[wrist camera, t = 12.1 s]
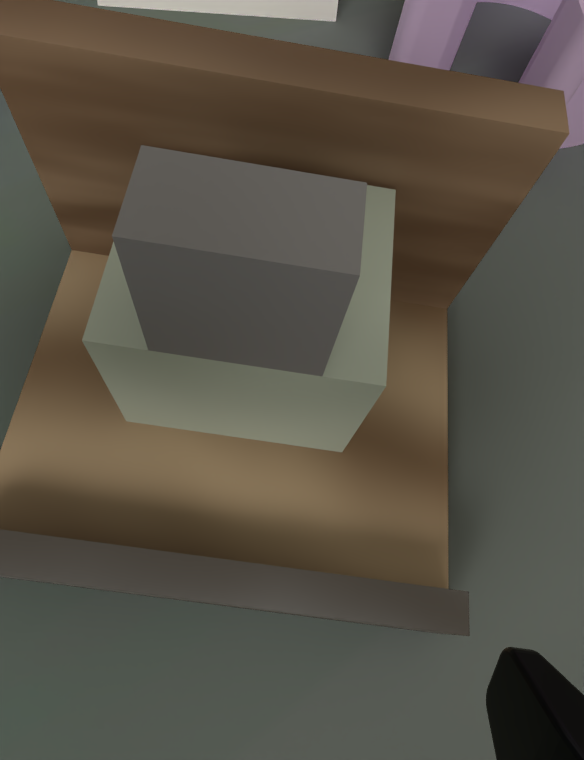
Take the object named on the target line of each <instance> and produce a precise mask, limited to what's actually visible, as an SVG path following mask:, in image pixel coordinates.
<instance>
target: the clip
mask: <svg viewBox="0 0 584 760" xmlns="http://www.w3.org/2000/svg"><path fill="white" fill-rule="evenodd" d="M477 2H494V3H503V4H508V5H513V6H517V7H521V8H524V9H527V10H530V11H533V12H536V13H538V14H540V15H542V16H545V17H547V18H549V19H550V20H552V21H551V22H550V24H549V26H548V28H547V30H546V32H545V34H544V35H543V37H542V39H541V41H540V43H539V45H538V47H537V49H536V50H535V52H534V54H533V56H532V58H531V60H530V62H529V63H528V65H527V67H526V69H525V71H524V73H523V75H522V77H521V78H520V80H519V82H518V83H522V84H528V85H534V86H539V87H545V88H551V89H556V90H562V91H564V97H565V104H566V111H567V118H568V126H569V133H570V134H569V135H568V137H567V138H566V139H565V141H564V142H563V144H562V145H561V147H560V148H567V147H573V146H577V145H581V144H584V0H405V2H404V5H403V9H402V13H401V16H400V20H399V23H398V27H397V30H396V34H395V38H394V41H393V45H392V48H391V52H390V55H389V59H388V60H392V61H398V62H404V63H409V64H415V65H421V66H426V67H432V68H438V69H443V70H449V71H450V68H451V66H452V63H453V61H454V58H455V56H456V53H457V51H458V48H459V46H460V43H461V41H462V38H463V36H464V33H465V31H466V28H467V26H468V23H469V21H470V18H471V16H472V13H473V11H474V8H475V6H476V3H477Z"/></svg>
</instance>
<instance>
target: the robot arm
mask: <svg viewBox="0 0 584 760" xmlns="http://www.w3.org/2000/svg"><path fill="white" fill-rule="evenodd" d="M486 707H487V713H488V718H489V723H490V728H491V733H492V738H493V743H494V749H495V754H496V759H497V760H584V695H583V694H582V693H581V692H580V691H579V690H578V689H577V688H576V687H575V686H574V685H572V684H571V683H570V682H569V681H568V680H567V679H566V678H565V677H564V676H563V675H562V674H561V673H560V672H559V671H558V670H557V669H556V668H554V667H553V666H552V665H551V664H550V663H549V662H548V661H547V660H546V659H545V658H544V657H543V656H542V655H540V654H539V653H538V652H536V651H534V650H530V649H522V648H514V647H508V648H505V649H504V650H503V651H502V653H501V655H500V657H499V660H498V662H497V665H496V667H495V670H494V673H493V675H492V678H491V680H490V683H489V686H488V689H487V694H486Z"/></svg>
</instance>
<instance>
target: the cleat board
mask: <svg viewBox="0 0 584 760" xmlns="http://www.w3.org/2000/svg"><path fill="white" fill-rule="evenodd" d="M0 88H1V91H2V93H3V95H4V97H5V100H6V102H7V104H8V107H9V109H10V111H11V113H12V116H13V118H14V120H15V122H16V125H17V127H18V129H19V131H20V134H21V136H22V138H23V141H24V143H25V145H26V147H27V150H28V152H29V154H30V156H31V159H32V161H33V163H34V165H35V168H36V170H37V172H38V174H39V177H40V179H41V181H42V184H43V186H44V188H45V190H46V193H47V195H48V197H49V199H50V202H51V204H52V206H53V208H54V211H55V213H56V215H57V218H58V220H59V222H60V224H61V227H62V229H63V231H64V233H65V236H66V238H67V240H68V242H69V245H70V247H71V249H72V251H71V254H70V257H69V259H68V262H67V265H66V268H65V271H64V273H63V276H62V279H61V282H60V285H59V288H58V290H57V293H56V296H55V299H54V302H53V304H52V307H51V310H50V313H49V316H48V318H47V321H46V324H45V327H44V330H43V332H42V335H41V338H40V341H39V344H38V346H37V349H36V352H35V355H34V358H33V360H32V363H31V366H30V369H29V372H28V375H27V377H26V380H25V383H24V386H23V389H22V391H21V394H20V397H19V400H18V403H17V405H16V408H15V411H14V414H13V417H12V419H11V422H10V425H9V428H8V431H7V433H6V436H5V439H4V442H3V445H2V447H1V450H0V577H5V578H13V579H21V580H29V581H36V582H44V583H52V584H60V585H67V586H75V587H83V588H91V589H98V590H106V591H114V592H122V593H129V594H137V595H145V596H152V597H160V598H168V599H176V600H183V601H191V602H199V603H207V604H214V605H222V606H230V607H238V608H245V609H253V610H261V611H269V612H276V613H284V614H292V615H300V616H307V617H315V618H323V619H331V620H338V621H346V622H354V623H362V624H369V625H377V626H385V627H392V628H400V629H408V630H416V631H423V632H431V633H440V634H452V635H463V636H470V632H469V592H468V591H460V590H453V589H448V376H447V308H448V307H449V306H450V304H451V303H452V301H453V300H454V298H455V297H456V296H457V294H458V293H459V291H460V290H461V288H462V287H463V286H464V284H465V283H466V281H467V280H468V278H469V277H470V276H471V274H472V273H473V271H474V270H475V268H476V267H477V265H478V264H479V263H480V261H481V260H482V258H483V257H484V255H485V254H486V253H487V251H488V250H489V248H490V247H491V245H492V244H493V243H494V241H495V240H496V238H497V237H498V235H499V234H500V233H501V231H502V230H503V228H504V227H505V225H506V224H507V223H508V221H509V220H510V218H511V217H512V215H513V214H514V212H515V211H516V210H517V208H518V207H519V205H520V204H521V202H522V201H523V200H524V198H525V197H526V195H527V194H528V192H529V191H530V190H531V188H532V187H533V185H534V184H535V182H536V181H537V180H538V178H539V177H540V175H541V174H542V172H543V171H544V170H545V168H546V167H547V165H548V164H549V162H550V161H551V159H552V158H553V157H554V155H555V154H556V152H557V151H558V149H559V148H560V147H561V145H562V144H563V142H564V141H565V139H566V138H567V137H568V135H569V134H570V133H569V126H568V118H567V111H566V104H565V97H564V91H562V90H556V89H551V88H545V87H539V86H534V85H528V84H522V83H517V82H511V81H505V80H500V79H494V78H489V77H483V76H477V75H472V74H466V73H460V72H455V71H449V70H443V69H438V68H432V67H426V66H421V65H415V64H409V63H404V62H398V61H392V60H387V59H381V58H376V57H370V56H364V55H359V54H353V53H347V52H342V51H336V50H330V49H325V48H319V47H313V46H308V45H302V44H296V43H291V42H285V41H280V40H274V39H268V38H263V37H257V36H251V35H246V34H240V33H234V32H229V31H223V30H217V29H212V28H206V27H200V26H195V25H189V24H183V23H178V22H172V21H167V20H161V19H155V18H150V17H144V16H138V15H133V14H127V13H121V12H116V11H110V10H104V9H99V8H93V7H87V6H82V5H76V4H71V3H65V2H59V1H54V0H0ZM141 145H145V146H150V147H156V148H162V149H168V150H174V151H180V152H186V153H192V154H198V155H204V156H210V157H216V158H222V159H228V160H234V161H240V162H246V163H252V164H258V165H264V166H270V167H276V168H282V169H288V170H294V171H300V172H306V173H312V174H318V175H324V176H330V177H336V178H342V179H348V180H354V181H360V182H366V183H367V185H370V186H376V187H382V188H388V189H394V190H396V195H395V216H394V237H393V257H392V278H391V299H390V319H389V340H388V361H387V381H386V387H385V389H384V390H383V392H382V393H381V395H380V396H379V398H378V399H377V401H376V402H375V404H374V405H373V407H372V408H371V410H370V411H369V413H368V414H367V416H366V417H365V419H364V420H363V422H362V423H361V425H360V426H359V428H358V429H357V431H356V432H355V434H354V435H353V437H352V438H351V440H350V441H349V443H348V444H347V446H346V447H345V449H344V450H343V452H336V451H329V450H322V449H315V448H308V447H301V446H294V445H287V444H280V443H273V442H266V441H260V440H253V439H246V438H239V437H232V436H225V435H218V434H211V433H204V432H197V431H190V430H183V429H176V428H169V427H162V426H155V425H148V424H142V423H135V422H128V421H126V420H125V418H124V416H123V414H122V413H121V411H120V409H119V407H118V405H117V403H116V402H115V400H114V398H113V396H112V394H111V393H110V391H109V389H108V387H107V385H106V383H105V382H104V380H103V378H102V376H101V374H100V373H99V371H98V369H97V367H96V365H95V363H94V362H93V360H92V358H91V356H90V354H89V353H88V351H87V349H86V347H85V345H84V343H83V342H82V338H83V335H84V332H85V329H86V326H87V323H88V320H89V316H90V313H91V310H92V307H93V304H94V301H95V298H96V295H97V291H98V288H99V285H100V282H101V279H102V276H103V273H104V270H105V266H106V263H107V260H108V257H109V254H110V251H111V248H112V245H113V238H112V234H113V231H114V228H115V225H116V222H117V219H118V215H119V212H120V209H121V206H122V203H123V200H124V197H125V194H126V191H127V188H128V185H129V181H130V178H131V175H132V172H133V169H134V166H135V163H136V160H137V157H138V154H139V150H140V147H141Z"/></svg>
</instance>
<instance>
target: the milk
mask: <svg viewBox="0 0 584 760" xmlns="http://www.w3.org/2000/svg"><path fill="white" fill-rule="evenodd" d="M97 2H98V5H99V6H114V7H129V8H143V9H158V10H173V11H188V12H203V13H217V14H232V15H247V16H262V17H276V18H291V19H306V20H321V21H336V15H337V7H338V0H97Z"/></svg>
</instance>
